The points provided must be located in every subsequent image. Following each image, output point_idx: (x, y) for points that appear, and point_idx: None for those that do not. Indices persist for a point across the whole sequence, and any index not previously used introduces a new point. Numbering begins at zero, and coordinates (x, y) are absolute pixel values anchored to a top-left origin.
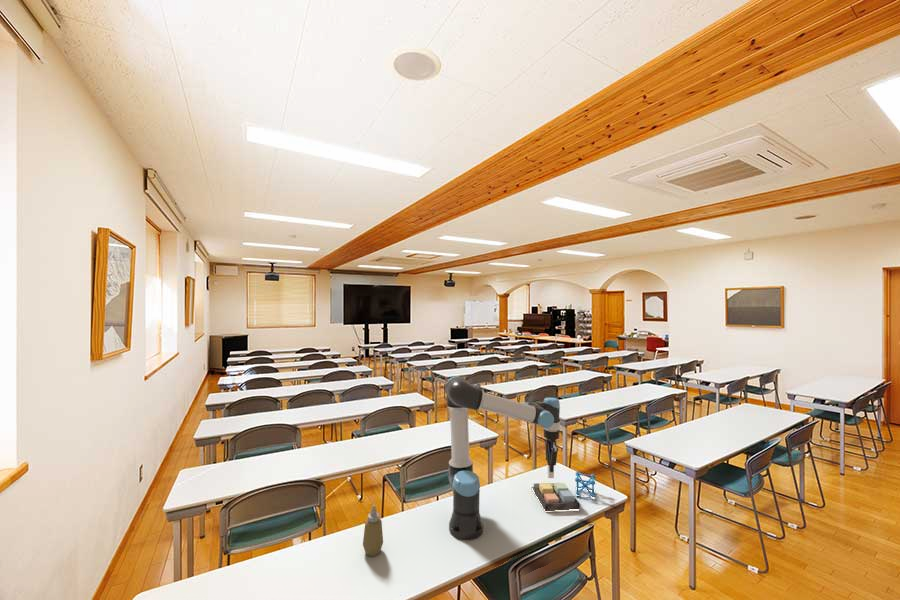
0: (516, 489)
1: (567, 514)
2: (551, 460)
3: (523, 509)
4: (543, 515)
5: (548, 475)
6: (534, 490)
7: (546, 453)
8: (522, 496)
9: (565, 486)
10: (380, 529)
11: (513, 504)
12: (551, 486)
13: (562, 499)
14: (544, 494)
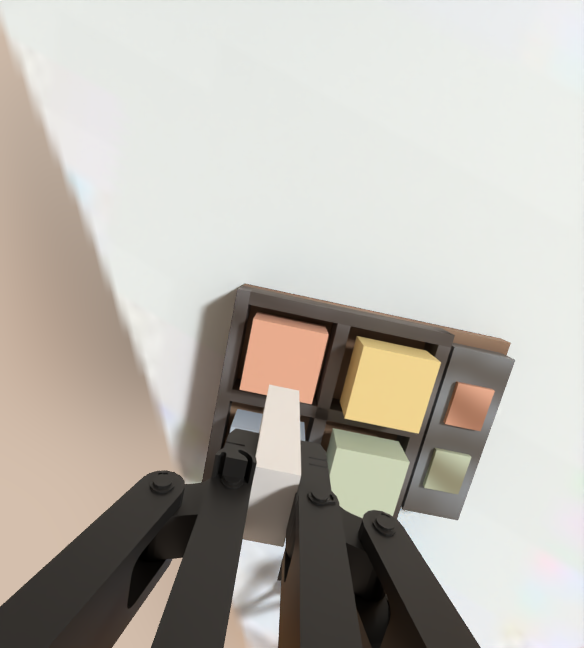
0: (539, 246)
1: (202, 386)
2: (78, 542)
3: (307, 172)
4: (221, 257)
5: (267, 396)
6: (461, 336)
7: (417, 631)
8: (446, 241)
9: (345, 507)
10: None
11: (378, 136)
12: (374, 423)
13: (256, 416)
14: (319, 332)
